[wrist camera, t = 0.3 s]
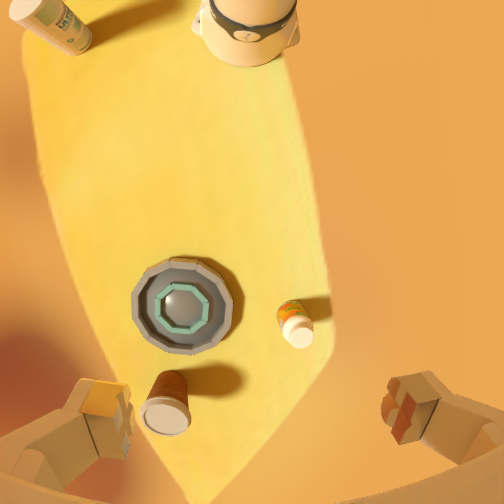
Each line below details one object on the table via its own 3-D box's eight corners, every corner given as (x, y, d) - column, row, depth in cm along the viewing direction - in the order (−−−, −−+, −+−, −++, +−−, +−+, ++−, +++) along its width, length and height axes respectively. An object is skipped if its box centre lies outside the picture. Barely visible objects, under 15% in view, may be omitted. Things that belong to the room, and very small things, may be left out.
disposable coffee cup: (202, 390, 63) (200, 430, 51) (165, 404, 63) (158, 442, 52) (178, 357, 60) (172, 395, 49) (140, 372, 61) (128, 410, 49)
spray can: (90, 54, 44) (39, 14, 25) (60, 59, 43) (3, 25, 24) (96, 24, 43) (51, -23, 23) (66, 29, 42) (16, -12, 23)
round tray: (134, 253, 54) (131, 257, 52) (236, 262, 56) (236, 266, 54) (136, 342, 59) (133, 348, 56) (227, 351, 61) (227, 357, 59)
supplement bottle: (304, 298, 60) (319, 322, 50) (303, 324, 61) (317, 350, 52) (275, 301, 59) (286, 325, 50) (275, 326, 60) (285, 353, 51)
